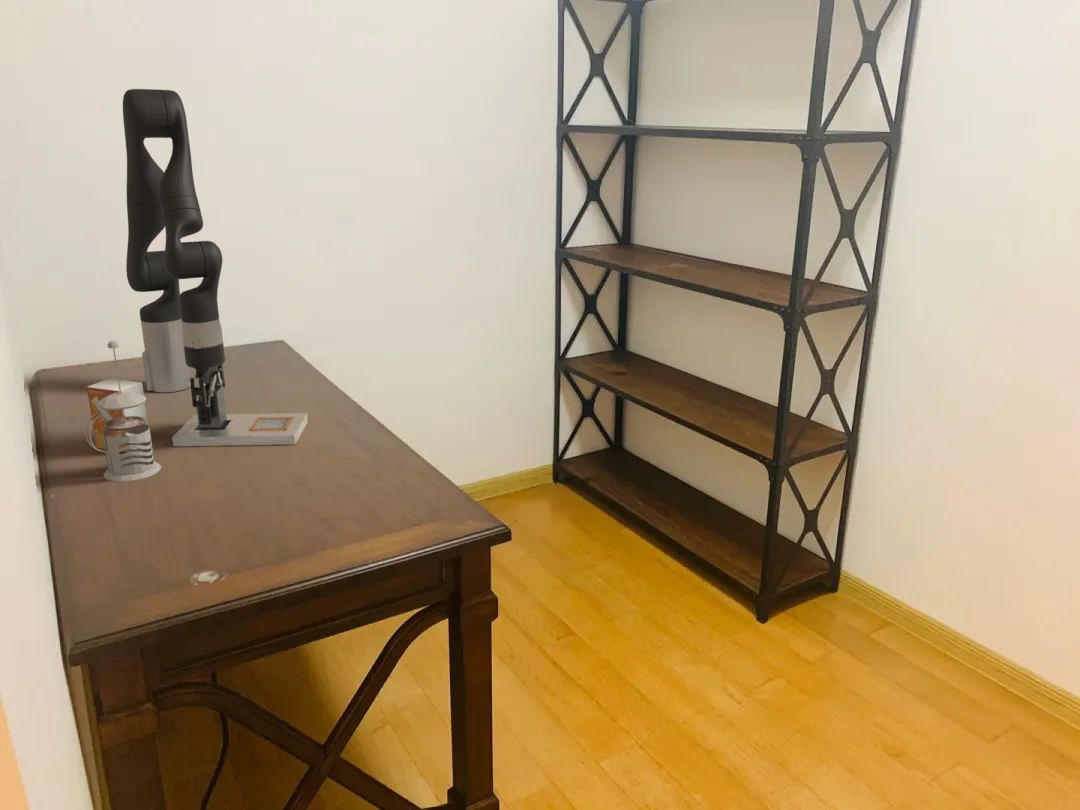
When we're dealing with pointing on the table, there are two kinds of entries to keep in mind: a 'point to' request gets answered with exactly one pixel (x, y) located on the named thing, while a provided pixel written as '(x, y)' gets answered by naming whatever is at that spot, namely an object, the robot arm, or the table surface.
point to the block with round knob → (216, 411)
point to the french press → (125, 437)
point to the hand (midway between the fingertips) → (212, 417)
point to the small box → (103, 390)
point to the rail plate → (245, 430)
